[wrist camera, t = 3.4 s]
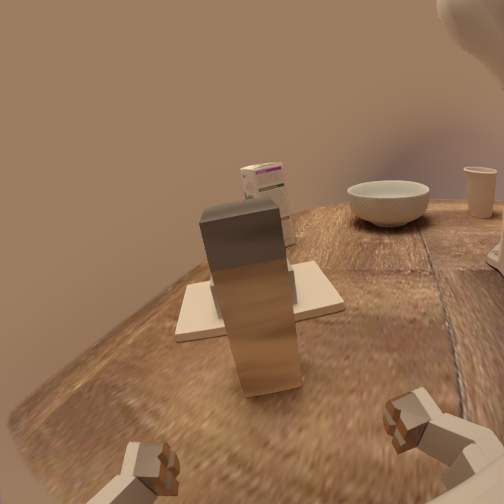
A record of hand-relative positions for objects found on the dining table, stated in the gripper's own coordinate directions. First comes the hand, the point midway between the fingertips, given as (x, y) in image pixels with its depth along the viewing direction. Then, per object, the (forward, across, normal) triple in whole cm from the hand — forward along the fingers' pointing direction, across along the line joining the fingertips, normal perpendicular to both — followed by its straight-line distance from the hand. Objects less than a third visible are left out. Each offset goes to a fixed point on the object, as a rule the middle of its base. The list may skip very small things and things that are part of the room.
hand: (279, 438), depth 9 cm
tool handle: (+12, 0, +8) cm, 15 cm away
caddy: (+25, 0, +8) cm, 26 cm away
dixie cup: (+38, -51, +8) cm, 64 cm away
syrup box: (+44, -5, +8) cm, 45 cm away
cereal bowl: (+45, -29, +8) cm, 54 cm away
